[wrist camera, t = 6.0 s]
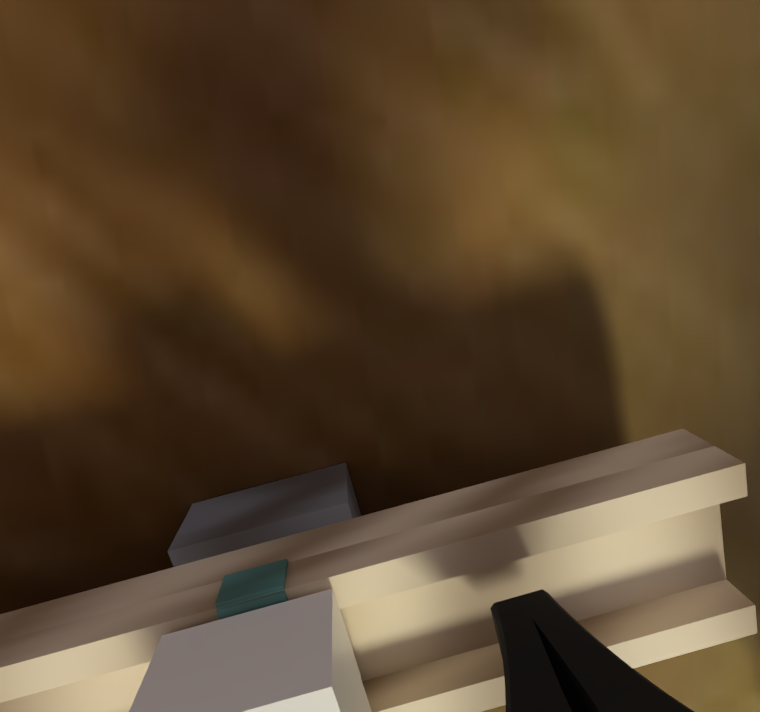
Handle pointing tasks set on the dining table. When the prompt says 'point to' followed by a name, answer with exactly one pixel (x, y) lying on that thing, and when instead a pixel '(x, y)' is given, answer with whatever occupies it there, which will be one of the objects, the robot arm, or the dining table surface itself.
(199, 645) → the rider
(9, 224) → the dining table surface
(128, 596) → the beam
